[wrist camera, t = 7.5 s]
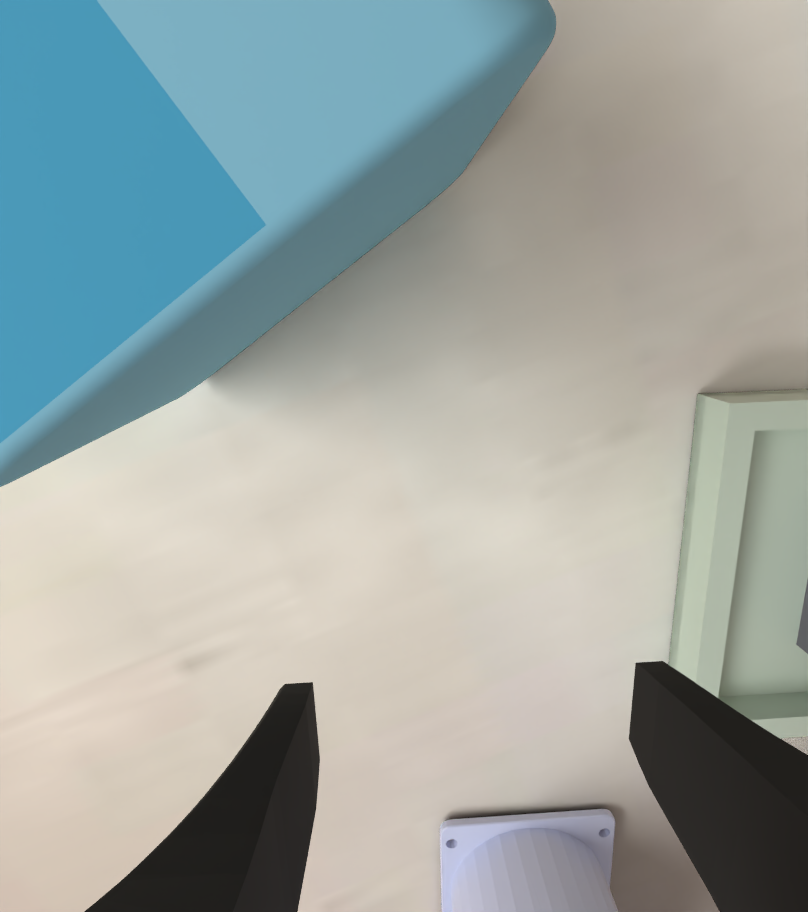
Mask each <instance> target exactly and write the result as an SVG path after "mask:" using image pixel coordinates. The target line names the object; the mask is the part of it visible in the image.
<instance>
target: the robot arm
mask: <svg viewBox="0 0 808 912" xmlns="http://www.w3.org/2000/svg"><path fill="white" fill-rule="evenodd" d="M629 740H630V742H631V745H632V747H633V750H634V752H635V755H636V757H637V760H638V762H639V765H640V767H641V769H642V771H643V774H644V776H645V778H646V780H647V783H648V785H649V787H650V789H651V790H652V792H653V794H654V796H655V798H656V800H657V801H658V803H659V805H660V807H661V808H662V810H663V812H664V814H665V815H666V817H667V819H668V821H669V823H670V824H671V826H672V828H673V830H674V831H675V833H676V835H677V837H678V838H679V840H680V842H681V843H682V845H683V847H684V849H685V850H686V852H687V854H688V856H689V857H690V859H691V861H692V863H693V864H694V866H695V868H696V870H697V871H698V873H699V875H700V877H701V878H702V880H703V882H704V884H705V885H706V887H707V889H708V890H709V892H710V894H711V896H712V898H713V900H714V902H715V904H716V905H717V907H718V909H719V911H720V912H808V755H806V754H805V753H803V752H801V751H800V750H798V749H797V748H795V747H793V746H792V745H790V744H788V743H787V742H785V741H783V740H782V739H780V738H778V737H777V736H775V735H773V734H772V733H770V732H769V731H767V730H766V729H764V728H762V727H761V726H759V725H758V724H756V723H755V722H753V721H751V720H750V719H748V718H747V717H745V716H744V715H742V714H741V713H739V712H738V711H736V710H735V709H733V708H732V707H730V706H729V705H727V704H726V703H724V702H723V701H721V700H720V699H719V698H717V697H716V696H714V695H713V694H711V693H710V692H708V691H707V690H705V689H704V688H702V687H701V686H700V685H698V684H697V683H695V682H694V681H692V680H691V679H689V678H688V677H686V676H685V675H683V674H682V673H680V672H679V671H677V670H676V669H674V668H673V667H671V666H670V665H668V664H666V663H665V662H663V661H659V662H642V663H636V666H635V677H634V689H633V700H632V711H631V722H630V733H629ZM319 763H320V756H319V746H318V735H317V724H316V713H315V702H314V691H313V682H311V683H295V684H285V685H284V686H283V687H282V688H281V689H280V690H279V692H278V693H277V695H276V697H275V698H274V700H273V702H272V703H271V705H270V707H269V708H268V710H267V711H266V713H265V714H264V716H263V718H262V719H261V721H260V722H259V724H258V725H257V727H256V728H255V730H254V731H253V732H252V734H251V735H250V737H249V738H248V740H247V741H246V742H245V744H244V745H243V747H242V748H241V749H240V751H239V752H238V754H237V755H236V756H235V758H234V759H233V760H232V762H231V763H230V764H229V766H228V767H227V768H226V769H225V771H224V772H223V773H222V774H221V776H220V777H219V778H218V779H217V781H216V782H215V783H214V785H213V786H212V787H211V788H210V790H209V791H208V792H207V793H206V794H205V796H204V797H203V798H202V799H201V800H200V801H199V803H198V804H197V805H196V806H195V807H194V808H193V809H192V811H191V812H190V813H189V814H188V815H187V816H186V817H185V818H184V819H183V820H182V822H181V823H180V824H179V825H178V826H177V827H176V828H175V829H174V830H173V831H172V832H171V833H170V834H169V835H168V836H167V837H166V838H165V839H164V840H163V841H162V842H161V843H160V844H159V845H158V846H157V847H156V848H155V849H154V850H153V851H152V852H151V853H150V854H149V855H148V856H147V857H146V858H145V859H144V860H143V861H142V862H141V863H140V864H139V865H138V866H137V867H136V868H135V869H134V870H133V871H131V872H130V873H129V874H128V875H127V876H126V877H125V878H124V879H123V880H122V881H120V882H119V883H118V884H117V885H116V886H115V887H113V888H112V889H111V890H110V891H109V892H108V893H106V894H105V895H104V896H103V897H102V898H100V899H99V900H98V901H97V902H96V903H94V904H93V905H92V906H91V907H90V908H88V909H87V910H86V911H85V912H297V911H298V905H299V900H300V894H301V889H302V883H303V878H304V872H305V867H306V861H307V856H308V850H309V845H310V839H311V834H312V828H313V823H314V817H315V811H316V802H317V790H318V777H319ZM614 834H615V818H614V816H613V814H612V813H611V811H609V810H607V809H592V810H578V811H564V812H549V813H535V814H521V815H506V816H492V817H478V818H463V819H450V820H446V821H445V822H443V823H442V824H441V825H440V867H441V912H619V911H618V909H617V906H616V904H615V901H614V899H613V896H612V894H611V891H610V880H611V869H612V857H613V845H614ZM451 839H453V840H451Z"/></svg>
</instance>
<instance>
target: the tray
mask: <svg viewBox="0 0 808 912" xmlns="http://www.w3.org/2000/svg"><path fill="white" fill-rule="evenodd" d="M807 580H808V389H798V390H774V391H751V392H728V393H704V394H697V403H696V412H695V422H694V431H693V440H692V450H691V459H690V468H689V478H688V487H687V496H686V506H685V515H684V524H683V533H682V543H681V552H680V561H679V571H678V580H677V589H676V599H675V608H674V617H673V627H672V636H671V645H670V654H669V664H668V665H670V666H671V667H673V668H674V669H676V670H677V671H679V672H680V673H682V674H683V675H685V676H686V677H688V678H689V679H691V680H692V681H694V682H695V683H697V684H698V685H700V686H701V687H702V688H704V689H705V690H707V691H708V692H710V693H711V694H713V695H714V696H716V697H717V698H719V699H720V700H721V701H723V702H724V703H726V704H727V705H729V706H730V707H732V708H733V709H735V710H736V711H738V712H739V713H741V714H742V715H744V716H745V717H747V718H748V719H750V720H751V721H753V722H755V723H756V724H758V725H759V726H761V727H762V728H764V729H766V730H767V731H769V732H770V733H772V734H773V735H775V736H777V737H778V738H795V737H808V654H807V653H806V652H805V651H804V650H802V649H801V648H800V647H799V646H797V645H796V643H797V637H798V631H799V626H800V620H801V614H802V608H803V603H804V597H805V591H806V585H807Z"/></svg>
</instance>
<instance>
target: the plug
mask: <svg viewBox="0 0 808 912" xmlns="http://www.w3.org/2000/svg"><path fill="white" fill-rule="evenodd" d="M796 645H797V646H799V647H800V648H801V649H802V650H804V651H805V652H806V653H807V654H808V580H807V585H806V591H805V597H804V603H803V608H802V614H801V620H800V626H799V631H798V637H797V643H796Z"/></svg>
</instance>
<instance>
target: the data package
mask: <svg viewBox="0 0 808 912" xmlns="http://www.w3.org/2000/svg"><path fill="white" fill-rule="evenodd" d="M555 29H556V16H555V13H554V10H553V9H552V7H551V5H550V3H549V1H548V0H0V487H1V486H3V485H6V484H8V483H10V482H12V481H14V480H16V479H18V478H20V477H22V476H24V475H26V474H28V473H30V472H32V471H34V470H36V469H38V468H40V467H42V466H44V465H46V464H48V463H50V462H52V461H54V460H56V459H58V458H60V457H62V456H64V455H66V454H68V453H70V452H72V451H74V450H76V449H78V448H80V447H82V446H84V445H86V444H88V443H90V442H92V441H94V440H96V439H98V438H100V437H102V436H104V435H106V434H108V433H110V432H112V431H114V430H116V429H118V428H120V427H122V426H124V425H126V424H128V423H130V422H132V421H134V420H136V419H138V418H140V417H142V416H144V415H146V414H148V413H150V412H152V411H154V410H156V409H158V408H160V407H162V406H164V405H166V404H168V403H170V402H172V401H173V400H175V399H177V398H179V397H181V396H183V395H184V394H186V393H187V392H189V391H190V390H192V389H193V388H195V387H196V386H197V385H199V384H200V383H202V382H203V381H204V380H206V379H207V378H208V377H210V376H211V375H212V374H214V373H215V372H216V371H218V370H219V369H220V368H221V367H223V366H224V365H225V364H227V363H228V362H229V361H230V360H232V359H233V358H234V357H235V356H237V355H238V354H239V353H240V352H242V351H243V350H244V349H246V348H247V347H248V346H249V345H251V344H252V343H253V342H254V341H256V340H257V339H258V338H259V337H261V336H262V335H263V334H264V333H266V332H267V331H268V330H270V329H271V328H272V327H273V326H275V325H276V324H277V323H278V322H280V321H281V320H282V319H283V318H285V317H286V316H287V315H288V314H290V313H291V312H292V311H294V310H295V309H296V308H297V307H299V306H300V305H301V304H302V303H304V302H305V301H306V300H307V299H309V298H310V297H311V296H313V295H314V294H315V293H316V292H318V291H319V290H320V289H321V288H323V287H324V286H325V285H326V284H328V283H329V282H330V281H331V280H333V279H334V278H335V277H337V276H338V275H339V274H340V273H342V272H343V271H344V270H345V269H347V268H348V267H349V266H350V265H352V264H353V263H354V262H355V261H357V260H358V259H359V258H361V257H362V256H363V255H364V254H366V253H367V252H368V251H369V250H371V249H372V248H373V247H374V246H376V245H377V244H378V243H380V242H381V241H382V240H383V239H385V238H386V237H387V236H388V235H390V234H391V233H392V232H393V231H395V230H396V229H397V228H398V227H400V226H401V225H402V224H404V223H405V222H406V221H407V220H409V219H410V218H411V217H412V216H414V215H415V214H416V213H417V212H419V211H420V210H421V209H422V208H424V207H425V206H426V205H427V204H429V203H430V202H431V201H432V200H434V199H435V198H436V197H437V196H438V195H439V194H441V193H442V192H443V191H444V190H445V189H446V188H447V187H449V186H450V185H451V184H452V183H453V182H454V181H455V180H456V179H457V178H458V177H459V176H460V175H461V174H462V173H463V171H464V170H465V168H466V167H467V165H468V164H469V162H470V161H471V160H472V158H473V157H474V155H475V154H476V152H477V151H478V149H479V148H480V146H481V145H482V143H483V142H484V141H485V139H486V138H487V136H488V135H489V133H490V132H491V130H492V129H493V127H494V126H495V125H496V123H497V122H498V120H499V119H500V117H501V116H502V114H503V113H504V111H505V110H506V108H507V107H508V106H509V104H510V103H511V101H512V100H513V98H514V97H515V95H516V94H517V92H518V91H519V89H520V88H521V87H522V85H523V84H524V82H525V81H526V79H527V78H528V76H529V75H530V73H531V72H532V71H533V69H534V68H535V66H536V65H537V63H538V62H539V60H540V59H541V57H542V56H543V54H544V53H545V52H546V50H547V48H548V47H549V45H550V43H551V41H552V39H553V37H554V34H555Z"/></svg>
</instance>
